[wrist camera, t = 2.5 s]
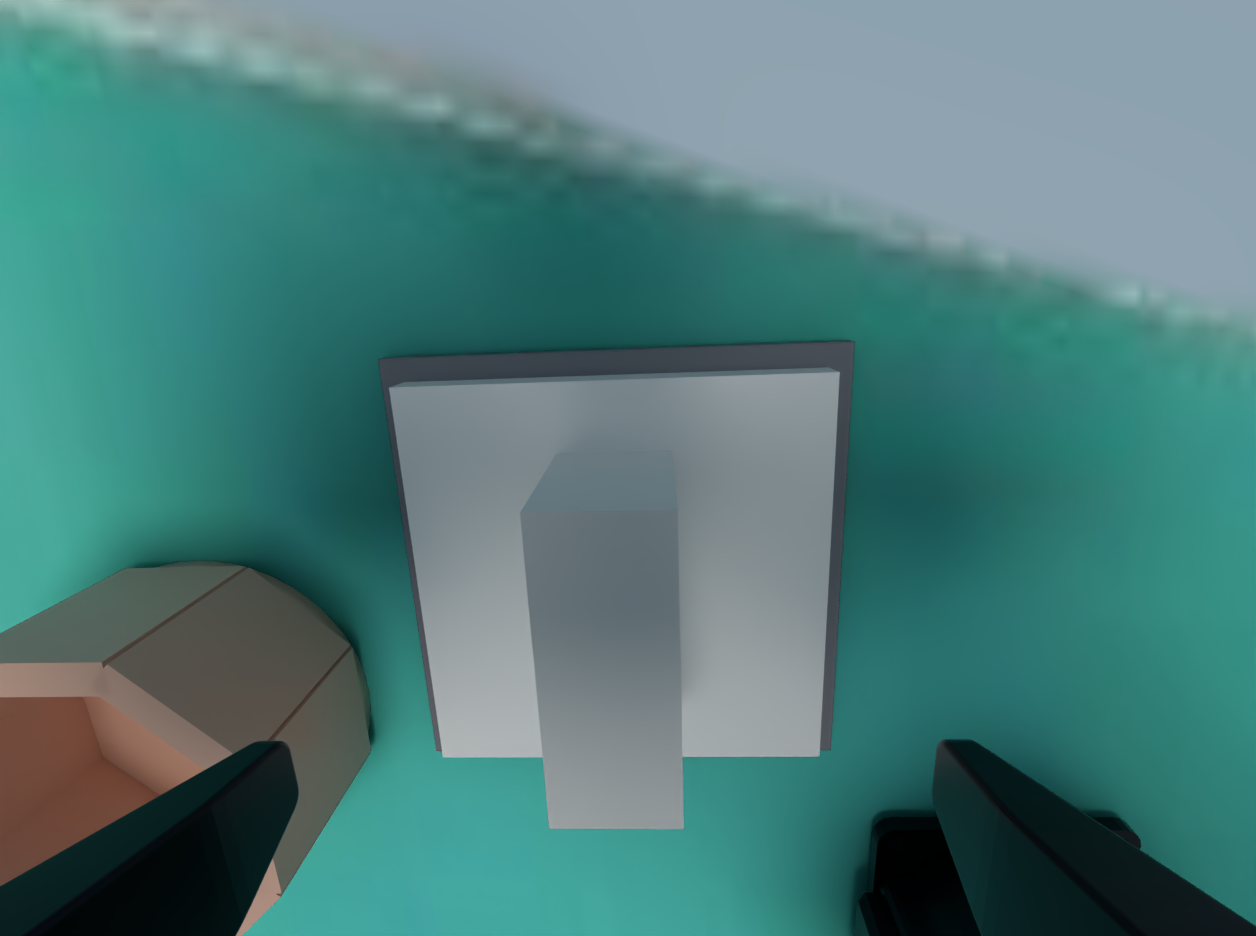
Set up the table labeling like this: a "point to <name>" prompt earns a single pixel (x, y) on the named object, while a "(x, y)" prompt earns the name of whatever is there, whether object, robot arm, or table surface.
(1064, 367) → the table surface
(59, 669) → the bowl
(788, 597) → the lid
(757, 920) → the table surface
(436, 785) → the table surface
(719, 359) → the mat
